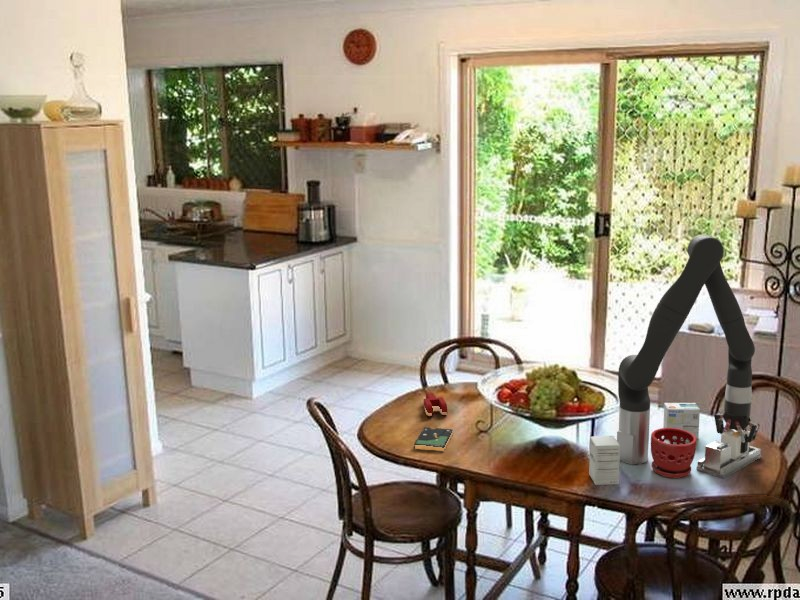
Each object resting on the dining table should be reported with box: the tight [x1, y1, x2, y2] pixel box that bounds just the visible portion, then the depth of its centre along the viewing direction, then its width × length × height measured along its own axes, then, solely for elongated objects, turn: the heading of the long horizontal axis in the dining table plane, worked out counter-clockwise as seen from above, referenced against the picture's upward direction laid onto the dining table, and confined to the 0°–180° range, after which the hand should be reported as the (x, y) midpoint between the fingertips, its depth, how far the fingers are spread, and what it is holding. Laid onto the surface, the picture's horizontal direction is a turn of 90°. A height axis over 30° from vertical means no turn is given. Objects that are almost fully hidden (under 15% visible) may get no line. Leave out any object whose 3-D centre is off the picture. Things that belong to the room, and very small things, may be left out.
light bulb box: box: [662, 402, 701, 440], centre depth 281 cm, size 11×7×11 cm, turn 84°
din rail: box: [696, 440, 762, 479], centre depth 259 cm, size 22×9×9 cm, turn 130°
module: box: [720, 429, 750, 460], centre depth 260 cm, size 8×5×8 cm, turn 130°
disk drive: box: [413, 426, 454, 448], centre depth 283 cm, size 10×3×15 cm
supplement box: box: [588, 435, 620, 486], centre depth 250 cm, size 7×7×13 cm
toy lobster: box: [423, 392, 448, 414], centre depth 312 cm, size 16×7×5 cm, turn 10°
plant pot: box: [650, 427, 698, 479], centre depth 253 cm, size 13×13×12 cm
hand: (734, 449), depth 261 cm, fingers closed on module, 5 cm apart
